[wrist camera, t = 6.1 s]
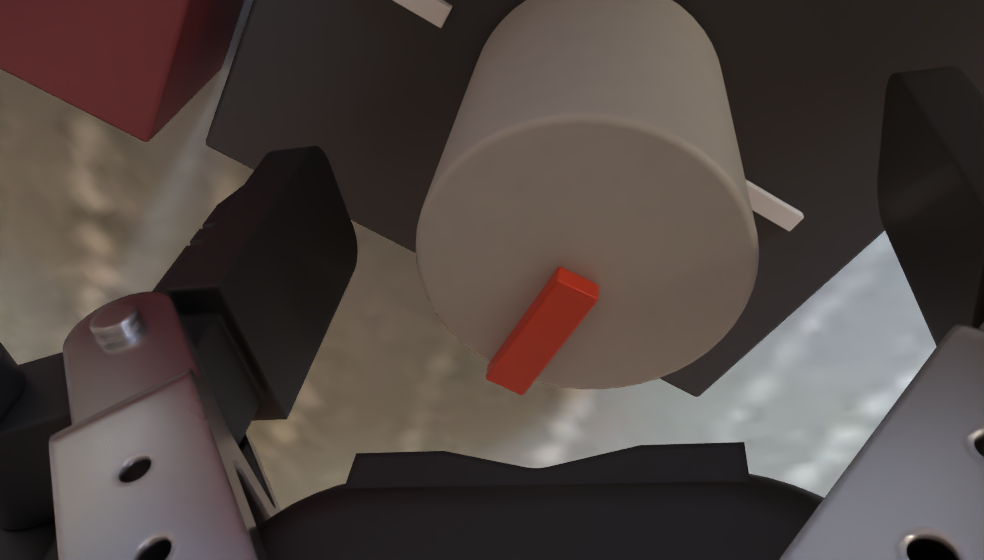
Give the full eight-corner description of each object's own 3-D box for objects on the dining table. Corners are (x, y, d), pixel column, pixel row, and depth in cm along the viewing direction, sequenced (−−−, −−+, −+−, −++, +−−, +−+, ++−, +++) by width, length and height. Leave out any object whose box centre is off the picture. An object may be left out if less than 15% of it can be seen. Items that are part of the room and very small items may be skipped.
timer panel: (1026, -12, 13) (1101, 50, 11) (690, 322, 19) (698, 405, 16) (445, -429, 11) (403, -448, 9) (253, 87, 16) (198, 149, 14)
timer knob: (544, -76, 11) (502, 58, 8) (778, 58, 12) (845, 240, 8) (434, 142, 14) (360, 327, 10) (633, 242, 14) (634, 449, 11)
